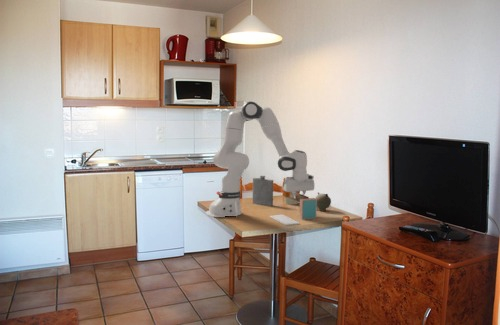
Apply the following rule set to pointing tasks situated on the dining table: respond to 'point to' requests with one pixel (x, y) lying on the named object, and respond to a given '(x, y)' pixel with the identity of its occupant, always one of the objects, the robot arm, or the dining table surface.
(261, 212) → the dining table surface
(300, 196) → the push stick
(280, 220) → the tool mat
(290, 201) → the reusable coffee cup
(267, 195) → the hip flask
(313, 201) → the tile
